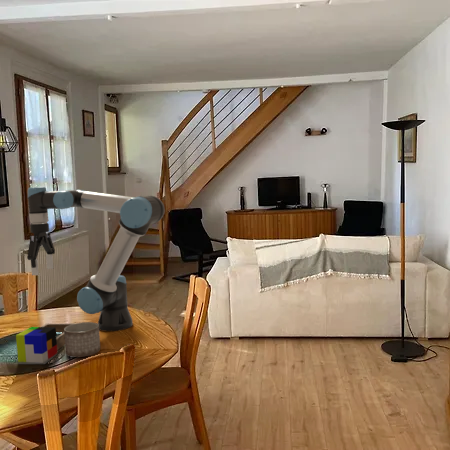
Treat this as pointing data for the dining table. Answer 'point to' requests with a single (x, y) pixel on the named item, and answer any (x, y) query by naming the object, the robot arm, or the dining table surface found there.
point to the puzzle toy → (36, 344)
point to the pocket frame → (61, 337)
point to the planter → (82, 339)
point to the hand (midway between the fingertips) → (43, 271)
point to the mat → (37, 363)
